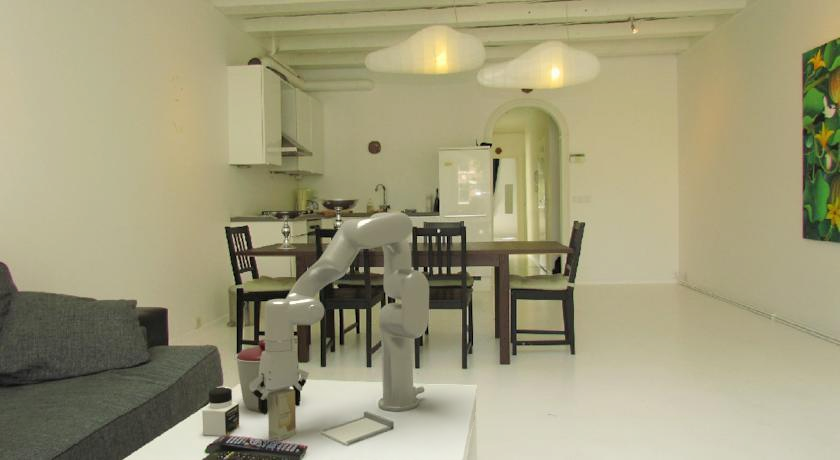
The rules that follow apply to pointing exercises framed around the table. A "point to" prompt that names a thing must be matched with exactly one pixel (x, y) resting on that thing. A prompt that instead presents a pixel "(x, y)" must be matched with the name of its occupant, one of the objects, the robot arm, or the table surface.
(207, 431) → the medicine bottle
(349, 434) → the mat
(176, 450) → the table surface
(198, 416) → the table surface
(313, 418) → the table surface
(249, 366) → the canister
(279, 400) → the skincare box
